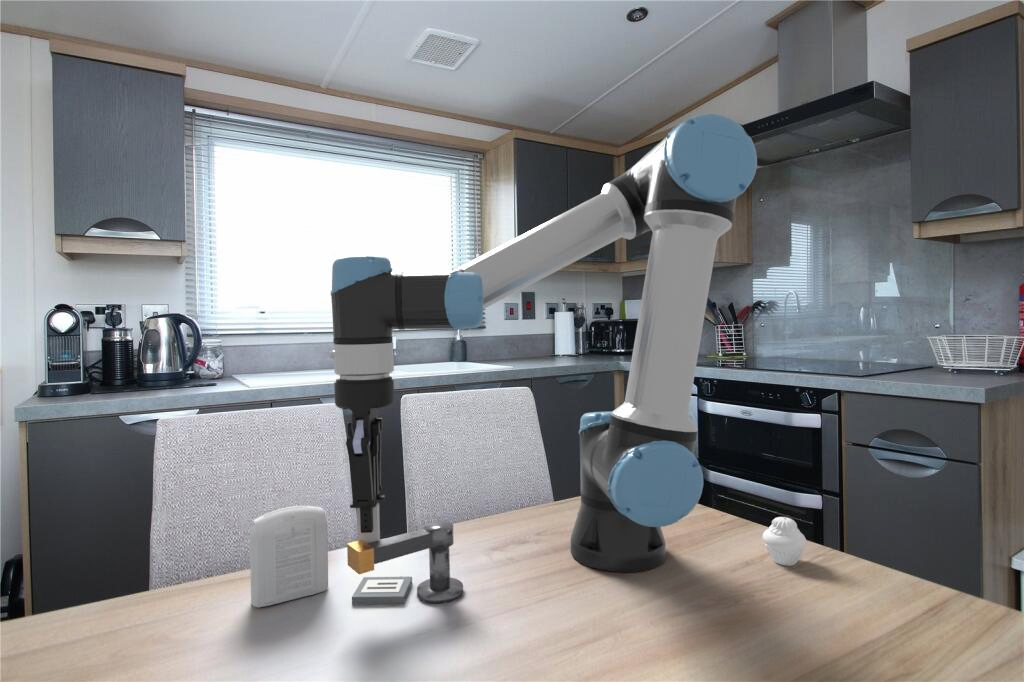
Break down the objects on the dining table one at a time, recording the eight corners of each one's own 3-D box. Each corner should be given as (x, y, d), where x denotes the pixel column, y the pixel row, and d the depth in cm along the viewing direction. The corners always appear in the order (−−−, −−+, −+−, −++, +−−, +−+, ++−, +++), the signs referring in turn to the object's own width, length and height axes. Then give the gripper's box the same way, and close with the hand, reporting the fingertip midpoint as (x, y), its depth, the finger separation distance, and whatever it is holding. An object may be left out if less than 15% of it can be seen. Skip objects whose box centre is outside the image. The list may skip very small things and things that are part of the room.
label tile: (412, 583, 83) (411, 575, 83) (403, 603, 77) (403, 595, 77) (363, 583, 83) (363, 576, 83) (351, 604, 77) (351, 595, 77)
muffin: (793, 552, 92) (793, 509, 91) (815, 569, 85) (815, 523, 85) (755, 554, 91) (755, 510, 91) (774, 570, 85) (774, 524, 85)
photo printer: (324, 580, 85) (322, 497, 84) (332, 591, 81) (330, 505, 81) (248, 599, 79) (245, 511, 79) (254, 612, 75) (251, 519, 75)
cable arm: (443, 537, 83) (443, 517, 82) (459, 545, 79) (458, 525, 79) (347, 564, 74) (346, 543, 74) (359, 575, 70) (359, 552, 70)
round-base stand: (465, 582, 83) (464, 537, 83) (460, 603, 77) (459, 555, 77) (421, 582, 83) (420, 537, 83) (413, 604, 77) (412, 555, 77)
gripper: (345, 371, 81) (350, 535, 82) (322, 382, 68) (328, 576, 69) (399, 370, 82) (403, 533, 83) (386, 380, 69) (391, 573, 70)
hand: (369, 552), depth 76 cm, fingers closed
